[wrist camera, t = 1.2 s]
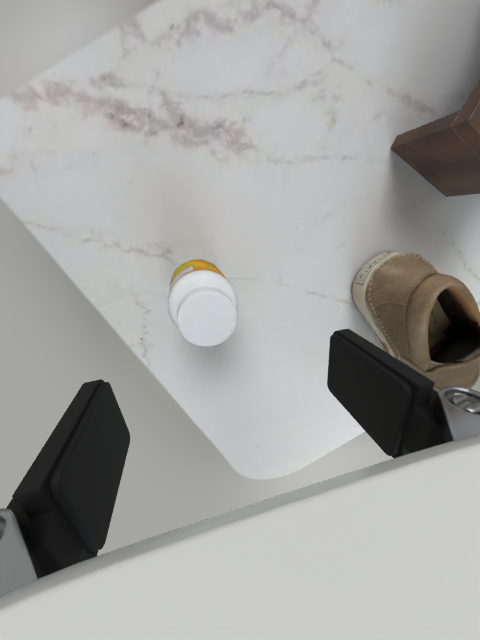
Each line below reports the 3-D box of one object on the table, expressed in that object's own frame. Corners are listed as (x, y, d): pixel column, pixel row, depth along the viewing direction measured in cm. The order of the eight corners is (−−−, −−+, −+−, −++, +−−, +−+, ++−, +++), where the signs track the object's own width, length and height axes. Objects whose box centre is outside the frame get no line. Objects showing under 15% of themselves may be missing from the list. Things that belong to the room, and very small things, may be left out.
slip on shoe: (465, 358, 40) (538, 392, 32) (414, 401, 41) (471, 445, 33) (405, 220, 27) (501, 220, 19) (332, 289, 28) (394, 316, 20)
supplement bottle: (233, 287, 25) (262, 321, 16) (196, 319, 25) (205, 369, 17) (199, 246, 23) (212, 261, 14) (159, 282, 23) (146, 319, 14)
